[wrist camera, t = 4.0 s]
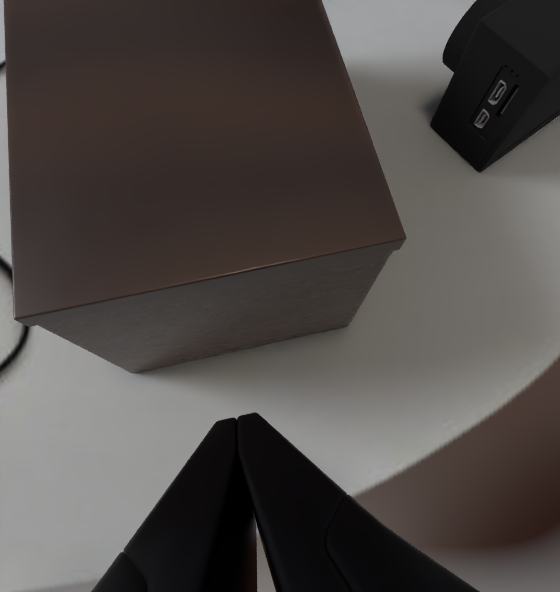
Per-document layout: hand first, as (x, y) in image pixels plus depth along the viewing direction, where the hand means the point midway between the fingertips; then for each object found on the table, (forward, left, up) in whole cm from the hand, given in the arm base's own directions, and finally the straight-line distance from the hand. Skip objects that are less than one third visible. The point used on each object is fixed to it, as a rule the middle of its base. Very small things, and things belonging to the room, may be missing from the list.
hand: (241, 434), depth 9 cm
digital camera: (+24, -4, -12) cm, 28 cm away
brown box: (+11, +9, -12) cm, 18 cm away
